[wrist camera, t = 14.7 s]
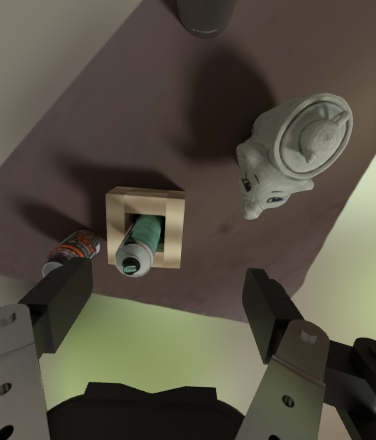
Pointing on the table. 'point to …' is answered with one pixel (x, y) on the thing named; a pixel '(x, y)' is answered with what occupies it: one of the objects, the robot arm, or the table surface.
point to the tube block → (153, 205)
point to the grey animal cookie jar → (291, 149)
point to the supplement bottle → (72, 250)
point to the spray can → (139, 245)
